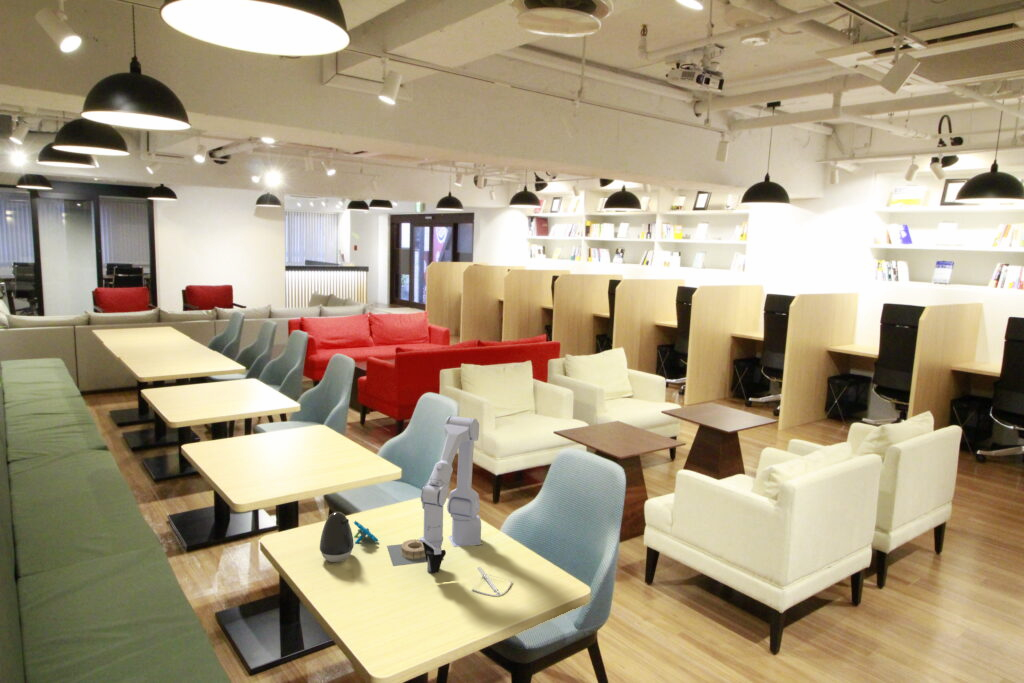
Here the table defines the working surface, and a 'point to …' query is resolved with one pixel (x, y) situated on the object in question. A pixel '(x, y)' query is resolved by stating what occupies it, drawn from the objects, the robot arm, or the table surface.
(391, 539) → the table surface
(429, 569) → the peg
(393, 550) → the mat
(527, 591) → the table surface
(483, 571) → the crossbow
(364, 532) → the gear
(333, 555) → the pump dispenser
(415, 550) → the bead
